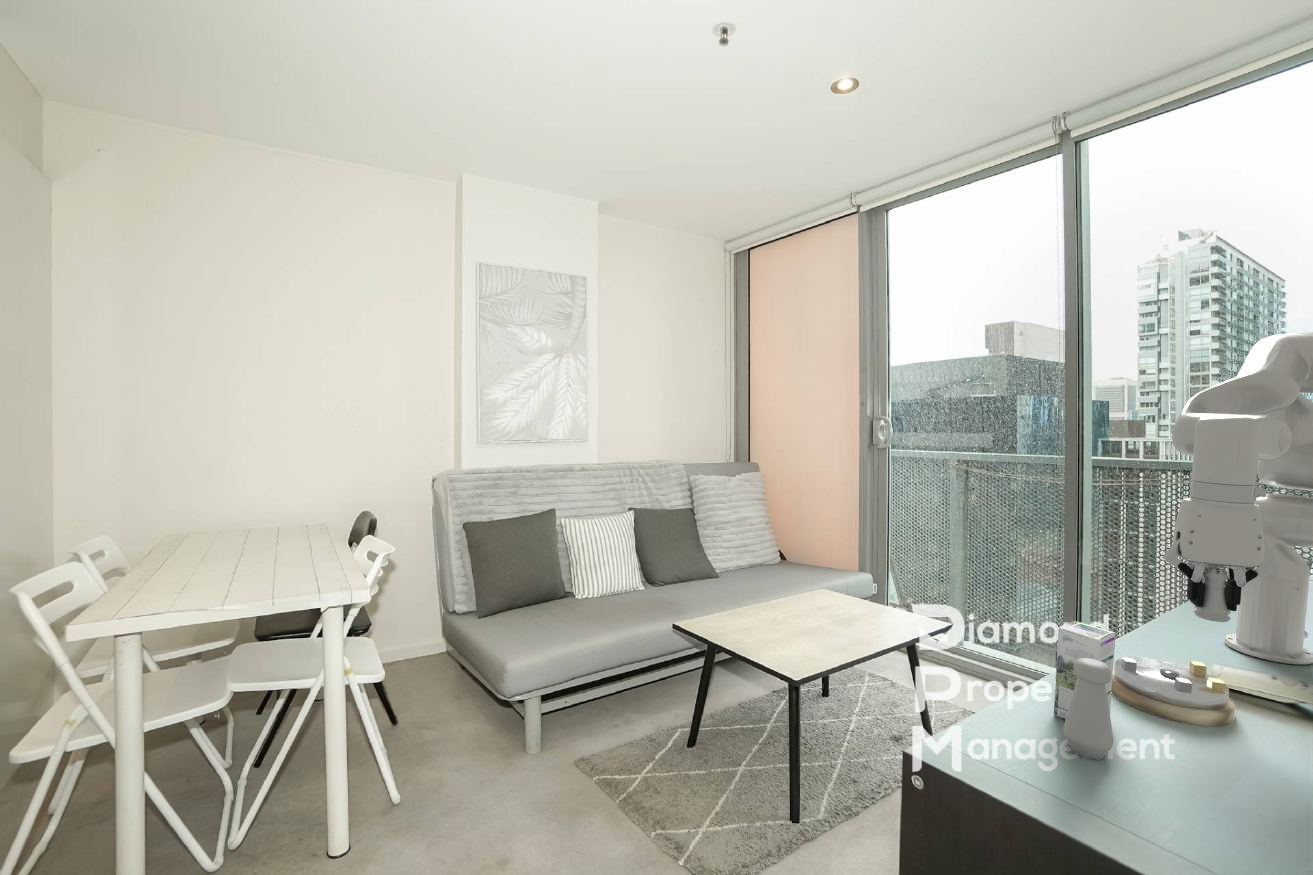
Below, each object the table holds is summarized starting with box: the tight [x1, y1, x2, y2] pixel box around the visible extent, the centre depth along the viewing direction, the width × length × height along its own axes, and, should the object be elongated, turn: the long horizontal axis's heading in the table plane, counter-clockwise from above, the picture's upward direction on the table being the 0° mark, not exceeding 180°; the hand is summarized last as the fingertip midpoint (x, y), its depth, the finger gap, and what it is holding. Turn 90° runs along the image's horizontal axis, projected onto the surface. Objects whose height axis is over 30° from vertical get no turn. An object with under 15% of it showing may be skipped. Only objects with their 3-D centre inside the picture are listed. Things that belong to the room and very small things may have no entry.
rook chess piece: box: [1193, 566, 1232, 623], centre depth 97 cm, size 4×4×8 cm
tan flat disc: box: [1111, 668, 1236, 727], centre depth 100 cm, size 16×16×2 cm
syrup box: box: [1053, 620, 1116, 721], centre depth 93 cm, size 6×6×14 cm
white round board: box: [1113, 656, 1230, 710], centre depth 100 cm, size 14×14×4 cm
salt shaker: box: [1063, 658, 1115, 761], centre depth 85 cm, size 6×6×13 cm
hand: (1212, 605), depth 97 cm, fingers closed on rook chess piece, 3 cm apart
